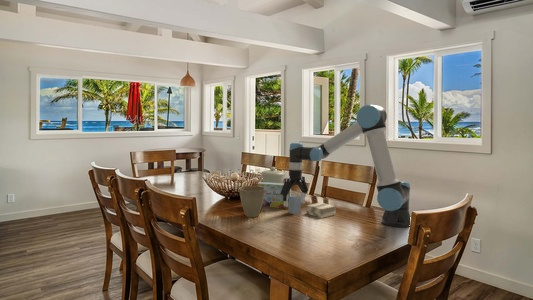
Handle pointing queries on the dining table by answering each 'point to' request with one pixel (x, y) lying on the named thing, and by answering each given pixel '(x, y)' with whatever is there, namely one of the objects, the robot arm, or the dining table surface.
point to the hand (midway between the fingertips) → (294, 204)
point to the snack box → (273, 195)
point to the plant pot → (252, 199)
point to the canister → (273, 176)
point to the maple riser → (321, 210)
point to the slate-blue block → (294, 204)
